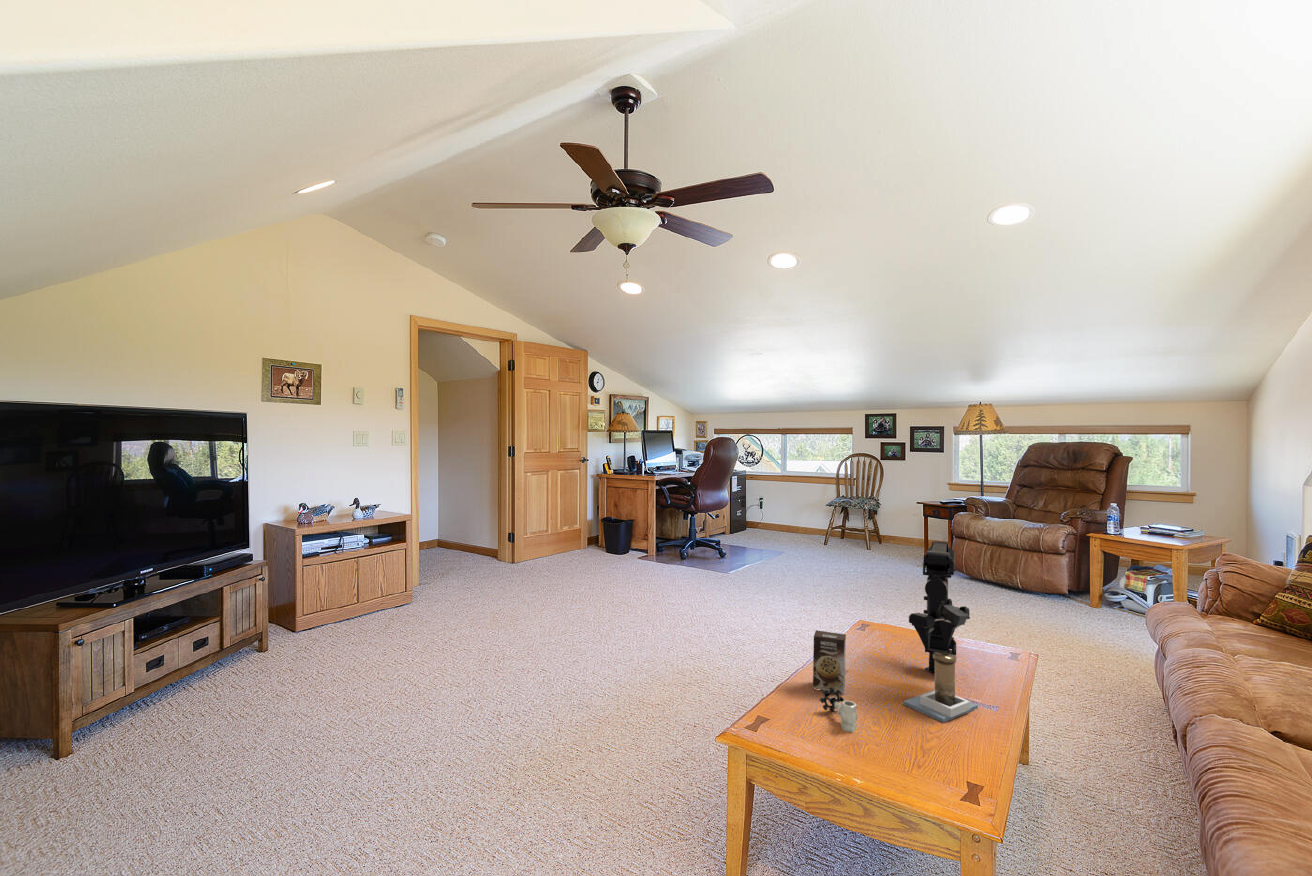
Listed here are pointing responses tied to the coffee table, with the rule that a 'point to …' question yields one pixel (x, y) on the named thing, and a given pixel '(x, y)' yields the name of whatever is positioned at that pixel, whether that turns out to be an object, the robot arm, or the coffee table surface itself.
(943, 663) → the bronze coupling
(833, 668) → the cookie box
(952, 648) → the robot arm
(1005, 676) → the coffee table surface
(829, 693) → the valve
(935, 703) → the collar plate
